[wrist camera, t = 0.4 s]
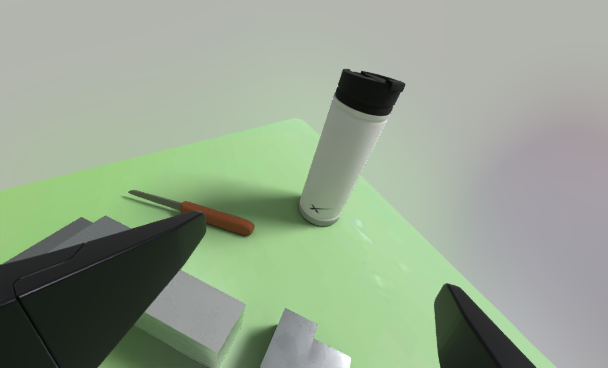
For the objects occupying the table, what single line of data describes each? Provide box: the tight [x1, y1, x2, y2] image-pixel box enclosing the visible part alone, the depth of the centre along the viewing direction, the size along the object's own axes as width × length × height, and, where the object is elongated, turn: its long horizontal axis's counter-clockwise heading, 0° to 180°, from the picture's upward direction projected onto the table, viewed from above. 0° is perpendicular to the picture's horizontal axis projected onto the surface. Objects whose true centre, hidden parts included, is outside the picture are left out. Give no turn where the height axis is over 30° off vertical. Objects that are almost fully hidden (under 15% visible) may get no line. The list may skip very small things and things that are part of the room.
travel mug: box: [299, 69, 405, 226], centre depth 29 cm, size 6×7×20 cm
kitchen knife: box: [128, 190, 254, 235], centre depth 29 cm, size 16×1×2 cm, turn 80°
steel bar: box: [134, 270, 246, 368], centre depth 19 cm, size 4×10×6 cm, turn 70°
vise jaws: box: [3, 215, 351, 368], centre depth 20 cm, size 7×30×4 cm, turn 70°
